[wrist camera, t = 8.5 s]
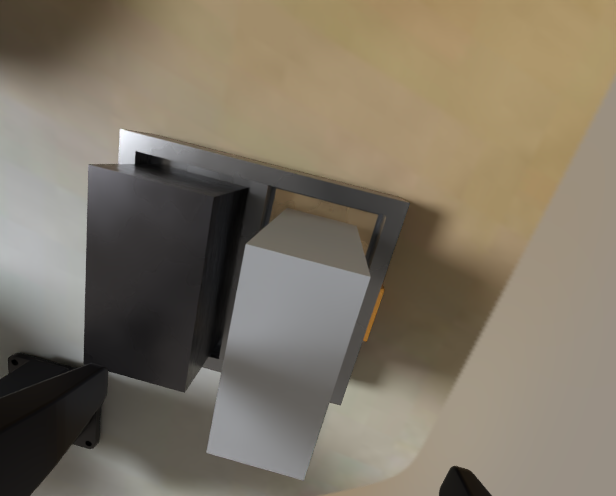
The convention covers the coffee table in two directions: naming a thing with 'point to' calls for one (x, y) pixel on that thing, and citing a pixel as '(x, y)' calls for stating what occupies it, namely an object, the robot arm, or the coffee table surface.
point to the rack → (201, 252)
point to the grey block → (287, 340)
